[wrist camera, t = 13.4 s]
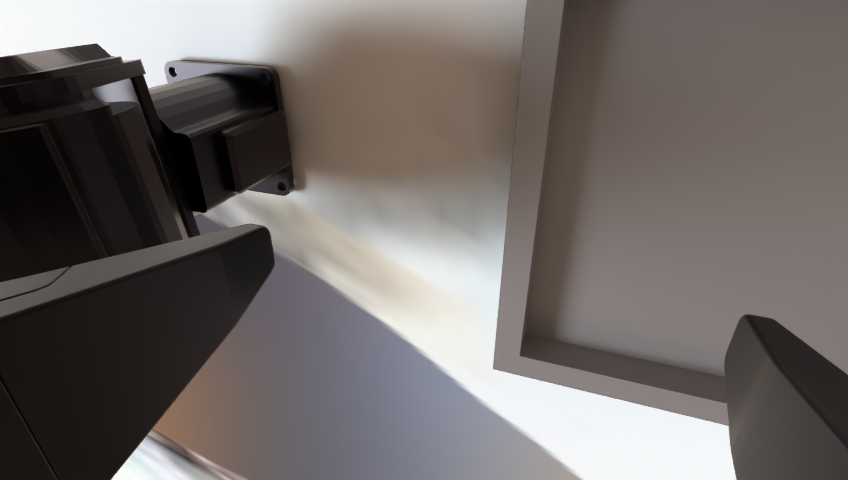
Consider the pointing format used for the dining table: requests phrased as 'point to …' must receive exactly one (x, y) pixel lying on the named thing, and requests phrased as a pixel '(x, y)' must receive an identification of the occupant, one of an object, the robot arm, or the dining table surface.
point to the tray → (674, 192)
